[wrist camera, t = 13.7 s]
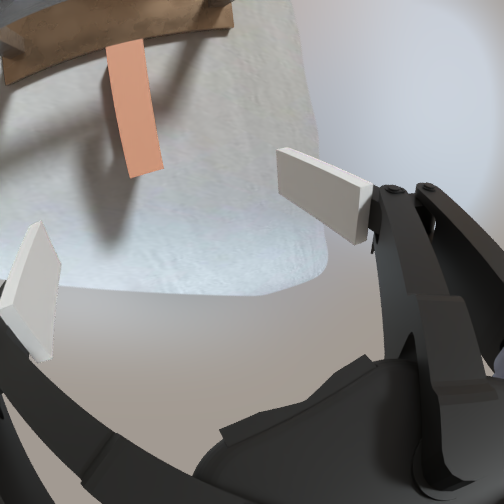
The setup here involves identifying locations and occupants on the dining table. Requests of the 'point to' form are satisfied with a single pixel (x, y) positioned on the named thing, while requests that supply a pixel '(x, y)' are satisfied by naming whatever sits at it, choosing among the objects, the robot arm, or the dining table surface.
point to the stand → (93, 27)
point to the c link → (134, 107)
